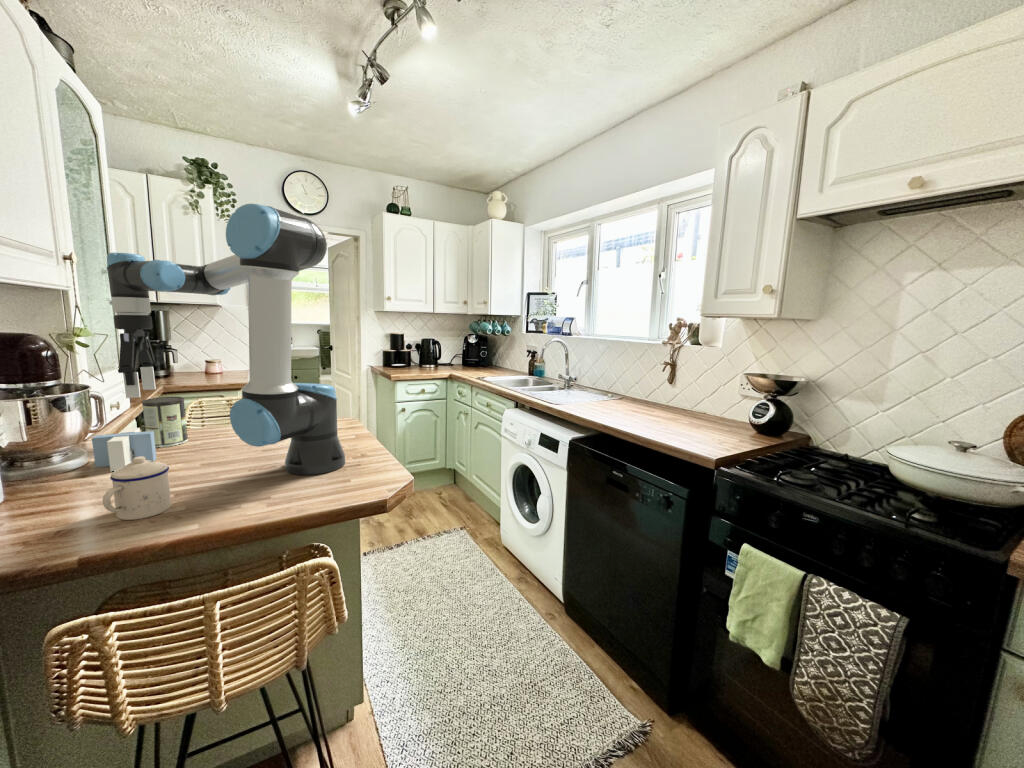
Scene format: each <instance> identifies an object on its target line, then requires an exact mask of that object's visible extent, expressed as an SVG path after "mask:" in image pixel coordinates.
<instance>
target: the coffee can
mask: <svg viewBox="0 0 1024 768" xmlns="http://www.w3.org/2000/svg"><path fill="white" fill-rule="evenodd" d="M141 404H142V411H143V412H142V413H143V419H144V420H143V421H144V428H145V432H146V431H154V439H155V449H156V448H158V447H160V448H169V447H168V446H170V447H175V445H176V446H180V445H183V444H185V443H187V442H189V437H188V429H187V426H188V425H187V419H186V409H185V397H182V396H161V397H160V396H159V397H153V398H146V399H144V400H141ZM179 444H180V445H179Z"/></svg>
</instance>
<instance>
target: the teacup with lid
mask: <svg viewBox="0 0 1024 768" xmlns="http://www.w3.org/2000/svg"><path fill="white" fill-rule="evenodd" d="M169 470H170V467H169V465H168V464H167V463H165V462H162V461H150V460H146V458H145V457H143V456H140V457H135V458H133V462H132V463H129V464H127V465H126V466H124V467H122V468H119V469H117V470H115V471H114V472H111V474H110V477H109V479H110V481H112V483H111V484H112V488H109V489H108V490H107V491H106V492H105V493H104V495H103V496H102V505H103V507H104V509H105V510H107V511H109V512H112V513H115V514H116V517H117V518H118V519H120V520H124V521H125V520H126V521H130V520H131V521H133V520H141V519H142V520H143V519H146V518H150V517H153V516H157V515H159V514H161V513H164V512H166V511H168V509H169V508H170V507H171V505H172V501H171V500H172V499H171V498H172V497H171V489H170V481H169V480H170V479H169ZM112 496H113V497H114V506H115V507H114V506H113V504H112V502H111V499H112Z"/></svg>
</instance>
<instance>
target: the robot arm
mask: <svg viewBox="0 0 1024 768" xmlns="http://www.w3.org/2000/svg"><path fill="white" fill-rule="evenodd" d="M225 240H226V244H227V246H228V247H229V249H230V251H231V252H232V253H233V255H230V256H226V257H225V258H222V259H218V260H216V261H213V262H210V263H208V264H204V265H200V266H199V265H191V264H190V265H189V264H181V263H175V262H173V261H170V260H161V259H154V260H146V259H145V257H144V256H142V255H141V254H136V253H130V252H109V253H108V254H107V256H106V270H107V276H108V284H109V290H110V296H111V297H110V298H111V300H109V302H108V303H109V305H111V306H112V312H113V313H115V315H114V316H113V324H114V325H113V326H114V328H115V329H116V330H124V333H120V334H119V339H120V342H119V344H120V345H119V360H118V362H119V363H118V368H117V373H118V374H122V375H123V383H124V390H125V391H124V392H125V398H126V399H135V398H137V399H139V398H141V388H140V380H139V372H138V371H137V366H138V360H139V363H140V365H141V367H139V368H140V376H141V385H142V391H149V390H150V391H151V390H152V391H153V390H156V389H157V387H156V380H155V379H156V377H155V371H154V367H157V366H158V363H157V362H156V359H155V357H154V356H155V354H154V352H153V349H152V348H153V347H152V345H151V341H150V333H149V332H148V331H144V330H152V329H153V318H152V317H153V316H151V315H149V314H151V313H152V307H151V299H150V294H149V293H150V292H164V293H165V292H166V293H180V294H181V293H182V294H195V295H206V296H207V295H209V296H223V295H226V294H228V292H229V291H230V290H231V288H234V287H238V286H241V285H243V284H247V283H248V286H247V287H248V288H247V289H248V296H247V297H248V349H249V350H248V354H249V355H248V357H249V358H248V359H249V361H248V363H249V366H248V367H249V372H248V373H249V380H248V382H247V383H246V384H244V386H242V387H241V399H238V400H237V401H235V402H234V403H233V404H232V406H231V408H230V409H229V410H230V411H229V420H230V425H231V427H232V429H233V432H234V433H235V434H236V436H238V438H239V439H240V440H241V441H242V442H244V443H245V444H247V445H249V446H250V447H257V448H258V447H265V446H269V445H276V444H278V443H280V442H282V441H285V440H288V439H290V442H289V447H288V449H287V453H286V456H285V460H284V468H285V471H286V472H287V473H289V474H293V475H297V476H299V475H301V476H307V475H308V476H310V475H311V476H313V475H321V474H326V473H331V472H333V471H336V470H338V469H340V468H342V467H343V466H345V465H346V455H345V454H346V453H345V452H344V449H343V446H342V444H341V442H340V439H339V436H338V408H337V407H338V405H337V401H338V399H337V393H336V392H337V391H336V388H335V387H334V386H333V385H332V384H325V383H314V382H313V383H312V382H311V383H310V382H309V383H308V382H293V381H292V282H293V279H294V278H295V277H297V276H298V275H299V274H300V272H301V271H303V270H304V271H305V270H307V269H311V268H313V267H315V266H317V265H318V264H320V263H321V262H322V261H323V260H324V258H325V256H326V254H327V250H328V247H327V246H328V244H327V239H326V236H325V234H324V232H323V231H322V229H321V228H320V227H319V226H318V225H317V224H316V223H315V222H314V221H312V220H310V219H308V218H306V217H303V216H301V215H300V216H298V215H296V214H292V213H290V212H288V211H287V212H286V211H283V210H281V209H278V208H274V207H273V206H270V205H263V204H258V203H246V204H242V205H241V206H239V207H237V208H236V209H235V211H234V212H233V213H231V215H230V216H229V219H228V221H227V223H226V227H225Z"/></svg>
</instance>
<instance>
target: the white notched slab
mask: <svg viewBox="0 0 1024 768" xmlns="http://www.w3.org/2000/svg"><path fill="white" fill-rule="evenodd" d="M133 432H141V428H140V427H131V428H125V429H123V430H122V431H121V432H120V433H133ZM107 447H108V455H109V463H110V466H109V469H110V470H109V471H110V472H111V473H113V472H112V471H115V470H117V469H119V468H122V467H124V466H126V465H127V464H129V463H132V462H133V458H135V451H134V449H131V450H130V443H129V436H122V437H113V438H112V439H110V440H109V441H108V442H107Z"/></svg>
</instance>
